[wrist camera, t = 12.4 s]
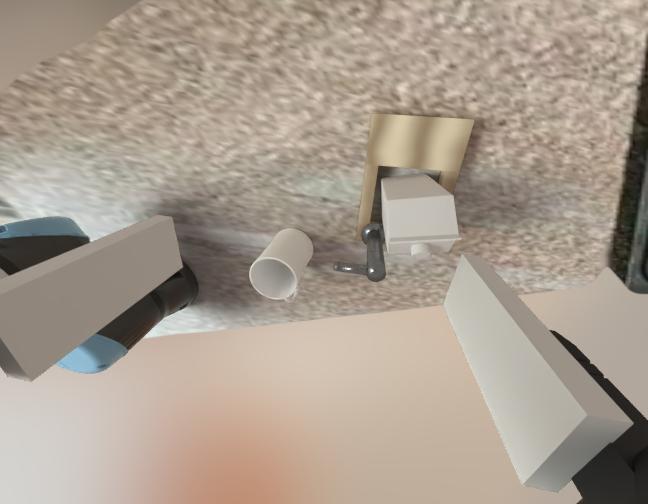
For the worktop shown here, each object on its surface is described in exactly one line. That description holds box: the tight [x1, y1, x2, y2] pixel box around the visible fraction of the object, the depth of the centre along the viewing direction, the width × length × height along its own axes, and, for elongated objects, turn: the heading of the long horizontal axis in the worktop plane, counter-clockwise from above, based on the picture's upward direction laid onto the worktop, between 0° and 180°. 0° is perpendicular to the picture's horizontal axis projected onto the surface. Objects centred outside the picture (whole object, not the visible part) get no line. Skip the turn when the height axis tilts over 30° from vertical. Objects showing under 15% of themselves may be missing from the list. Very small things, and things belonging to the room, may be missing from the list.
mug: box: [249, 228, 313, 303], centre depth 46 cm, size 12×9×12 cm
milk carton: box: [381, 174, 462, 259], centre depth 34 cm, size 7×7×19 cm
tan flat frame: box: [356, 113, 475, 244], centre depth 41 cm, size 14×20×2 cm
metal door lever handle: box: [333, 222, 386, 282], centre depth 39 cm, size 8×4×16 cm, turn 87°
